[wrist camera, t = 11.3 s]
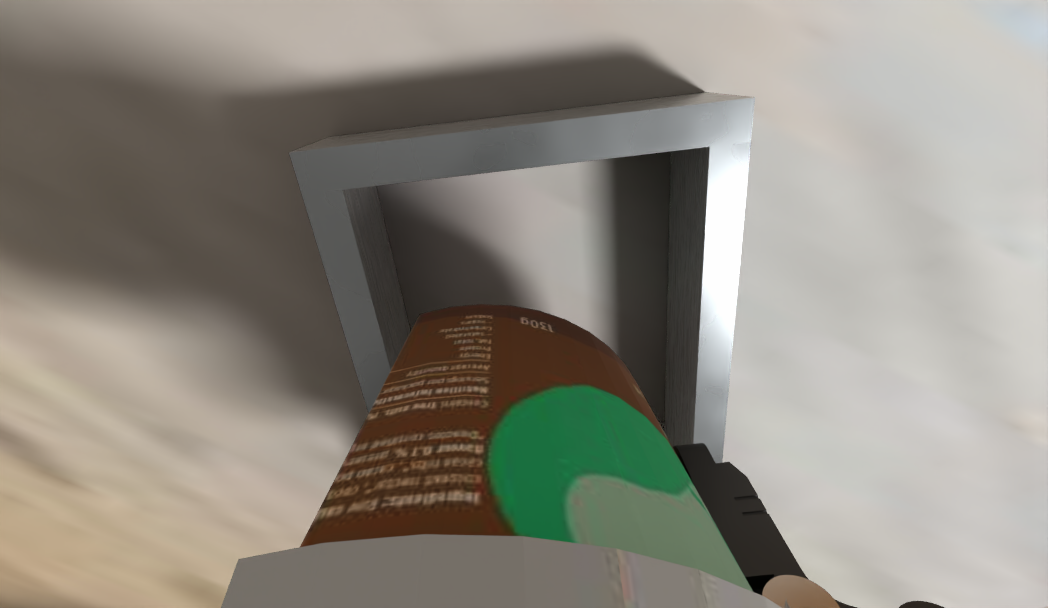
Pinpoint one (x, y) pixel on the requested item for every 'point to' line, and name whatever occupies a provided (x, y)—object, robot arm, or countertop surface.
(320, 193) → the collar
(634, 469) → the food container
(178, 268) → the countertop surface
